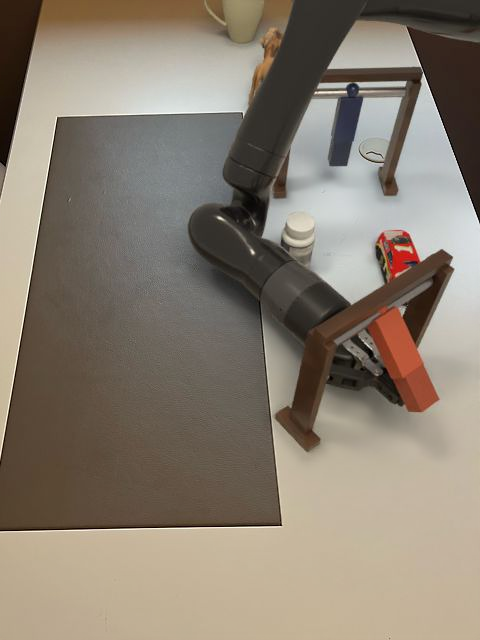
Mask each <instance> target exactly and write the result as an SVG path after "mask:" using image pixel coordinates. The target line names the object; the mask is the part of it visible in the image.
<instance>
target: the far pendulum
mask: <svg viewBox="0 0 480 640" xmlns="http://www.w3.org/2000/svg"><path fill="white" fill-rule="evenodd" d="M405 94H406V87H405V86H404V85H403V86H402V85H401V86H400V85H398V86H361V87H360V86H359V84H358V83H357V82H350V83H348V84H347V85H346V86H345V87H319V88H318V87H317V89H316V91H315V93H314V95H313V97H312V99H311V100H334V99H335V100H336V99H337V100H336V107H335V111H334V116H333V123H332V128H331V133H330V136H331V139H330V143H329V148H328V154H327V161H328V164H329V165H328V166H329V167H331V168H332V167H348V164H349V159H350V156H351V152H352V151H351V150H352V146H353V142H355V137H356V135H357V134H356V133H357V129H358V124H359V121H360V120H359V119H360V115H361V110H362V107H363V103H364V99H374V98H375V99H377V98H378V99H379V98H384V99H385V98H402V97H404V96H405Z"/></svg>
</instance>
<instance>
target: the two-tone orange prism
mask: <svg viewBox="0 0 480 640" xmlns="http://www.w3.org/2000/svg"><path fill="white" fill-rule="evenodd" d="M433 283H434V281H433V279H432V277H430V278H429V279H427V280H425V281H424V282H422V283H421V284H419V285H418V286H416V287H415V288H413V289H411V290H410V291H408V292H407V293H405V294H404V295H402V296H400V297H399V298H397V299H396V300H394V301H393V302H391V303H389V304H388V305H386V306H385V307H383V308H382V309H380V310H378V311H377V312H375V313H374V314H372V315H371V316H369V317H368V318H366V319H364V320H363V321H361V322H360V323H358V324H357V325H355V326H353V327H352V328H350V329H349V330H347V331H346V332H344V333H342V334H341V335H339V336H338V337H336V338H335V339H333V341H334V342H335V343H336V344H337V347H338V346H339V345H341V344H342V343H344V342H346V341H347V340H349V339H350V338H352V337H353V336H355V335H356V334H358V333H359V332H361V331H363V330H364V329H366V328H368V330H369V332H370V335H371V337H372V339H373V341H374V343H375V345H376V347H377V349H378V351H379V354H380V356H381V358H382V360H383V362H384V364H385V366H386V368H387V370H388V373H389V375H390V377H391V379H393V381H394V383H395V385H396V387H397V390H398V392H399V394H400V396H401V398H402V400H403V402H404V404H405V405H404V407H405V408H406V410H407V412H408V413H423V412H425V411H426V410H427V409H429V408H430V407H432V406H433V405H435V404H436V403H437V402H438V401H440V397H439V395H438V393H437V391H436V389H435V386H434V384H433V382H432V379H431V378H430V375H429V373H428V371H427V369H426V367H425V365H424V363H425V362H424V361H423V359H422V356H421V355H420V352H419V350H418V349H417V348H416V346H415V343H414V341H413V339H412V337H411V335H410V333H409V330H408V328H407V326H406V324H405V322H404V320H403V318H402V317H403V314H401V313H402V312H401V311H400V309H399V308H400V307H401V306H403V305H405V304H404V303H406V302H407V301H409V300H411V299H412V298H414V297H415V296H417V295H418V294H420V293H421V292H423V291H425V290H426V289H428V288H429V287H431V286H432V285H433Z"/></svg>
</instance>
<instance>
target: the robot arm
mask: <svg viewBox="0 0 480 640" xmlns="http://www.w3.org/2000/svg"><path fill="white" fill-rule="evenodd" d="M290 2H291V3H292V5H291V8H290V11H289V15H288V20H287V23H286V26H285V30H284V32H283V38H282V40H281V43H280V45H279V48H278V50H277V53H276V55H275V57H274V59H273V62H272V64H271V66H270V68H269V70H268V72H267V74H266V76H265V77H264V79H263V81H262V83H261V82H260V84H259V88H258V90H257V92H256V94H255V93H254V97H253V99H252V101H251V103H250V105H248V107H247V109H246V110H245V112H244V115H243V117H242V119H241V122H240V123H239V126H238V128H237V131H236V133H235V136H234V138H233V140H232V143H231V145H230V148H229V151H228V153H227V156H226V158H225V161H224V163H223V166H222V171H221V175H222V179H223V181H224V182H225V183H226V185H228V186H229V187H231V188H232V195H231V200H230V203H229V204H223V203H216V202H211V203H209V202H207V203H205V204H201V205H200V206H198V207H196V209H194V211H193V212H192V213H191V214H190V216H189V218H188V221H187V236H188V239H189V242H190V244H191V246H192V248H193V249H194V251H195V252H196V253H197V254H198V255H199V257H201V258H202V259H204V261H206V262H207V263H209V264H210V265H212V266H213V267H215V268H216V269H218V270H219V271H221V272H222V273H223V274H226V275H227V276H229V277H231V278H233V279H234V280H236V281H238V282H239V283H240V284H242V286H244V287H245V289H246V290H247V291H249V293H251V294H252V295H253V296H254V297H255V298H256V300H257V301H259V303H261V304H262V305H263V306H264V307H265V308H266V310H267V311H268V313H269V314H270V315H271V316H272V317H273V319H275V320H276V321H277V322H278V323H279V324H280V325H281V326H282V327H283V328H284V329H285V330H287V332H288V333H290V335H291V336H292V337H293V338H295V339H296V340H297V341H298V342H299V344H301V345H302V346H303V347H304V348H305V344H306V340H307V335H308V331H310V330H311V329H313V328H315V327H316V326H319V325H320V324H322V323H323V322H325V321H327V320H328V319H330V318H332V317H333V316H335V315H336V314H338V313H340V312H341V311H343V310H344V309H346V308H348V307H349V306H351V305H352V304H351V302H350V301H349V300H348V299H347V298H345V297H344V296H343V295H342V294H341V293H339V291H337V290H336V289H335V288H334V287H333V286H332V285H330V284H329V283H328V282H327V281H326V280H325V279H323V278H322V277H321V276H320V275H318V273H316V272H315V271H314V270H313V269H311V268H310V267H309V268H308V267H306V266H305V265H303V264H302V263H301V262H299V261H298V260H297V259H296V258H295V257H293V256H292V255H291V254H290V253H289V252H288V251H286V250H285V249H284V248H283V247H282V246H281V245H280V244H279V243H277V242H276V241H274V240H272V239H269V238H265V237H263V235H264V234H265V233H264V232H265V229H266V224H267V219H268V216H269V215H268V214H269V210H270V209H269V208H270V205H271V198H272V193H273V190H272V187H273V184H274V182H275V180H276V178H277V176H278V174H279V171H280V169H281V167H282V165H283V162H284V160H285V158H286V156H287V153H288V151H289V149H290V147H291V148H292V144H293V142H294V140H295V137H296V135H297V132H298V130H299V128H300V126H301V123H302V121H303V119H304V117H305V114H306V112H307V110H308V108H309V106H310V104H311V101H312V100H313V99H312V97H313V95H314V93H315V91H316V89H317V88H318V87H319V85H320V84H321V83H320V81H321V79H322V78H323V76H324V74H325V72H326V70H327V69H329V67H330V65H331V63H332V61H333V60H334V57H335V56H336V55H337V53H338V50H339V49H340V47H341V45H342V44H343V42H344V41H345V39H346V37H347V36H348V34H349V32H350V31H351V30H352V28H353V27H354V24H355V23H356V21H357V22H358V21H360V22H379V23H389V24H395V25H400V26H404V27H408V28H411V29H415V30H418V31H421V32H425V33H428V34H432V35H437V36H441V37H445V38H449V39H453V40H457V41H462V42H467V43H472V44H479V45H480V0H290ZM326 385H328V386H333V387H338V388H341V389H347V390H350V391H354V392H355V391H356V392H361V391H362V390H363V389H364V388H369V387H370V388H374V389H375V390H376V391H377V392H379V394H381V396H383V397H384V398H385V399H386V400H387V401H388V402H389V403H390V404H393V405H397V406H398V407H404V406H405V404H404V402H403V400H402V398H401V396H400V394H399V392H398V390H397V387H396V385H395V383H394V381H393V379H391V377H390V375H389V373H388V370H387V368H386V366H385V364H384V362H383V360H382V358H381V356H380V354H379V351H378V349H377V347H376V345H375V343H374V341H373V339H372V337H371V335H370V332H369V330H368V328H366V329H364V330H363V331H361V332H359V333H358V334H356V335H355V336H353V337H352V338H350V339H349V340H347V341H346V342H344V343H342V344H341V345H339V346H338V347H336V351H335V354H334V357H333V361H332V364H331V368H330V371H329V375H328V378H327V382H326Z"/></svg>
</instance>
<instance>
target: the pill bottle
mask: <svg viewBox="0 0 480 640" xmlns="http://www.w3.org/2000/svg"><path fill="white" fill-rule="evenodd" d="M315 227H316V220H315V218H314V217H313V216H312V215H311V214H309V213H307V212H303V211H295V212H292V213H290V214H288V216H287V217H286V220H285V223H284V227H283V229H282V230H281V236H280V244H279V245H281V246H282V247H283V248H284V249H285V250H286V251H288V252H289V253H290V254H291V255H292V256H293V257H295V258H296V259H297V260H298V261H299V262H301V263H302V264H303V265H305V266H306V267H308V268H310V266H311V261H312V256H313V251H314V246H315V242H316V241H315V240H316V232H315Z"/></svg>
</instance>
